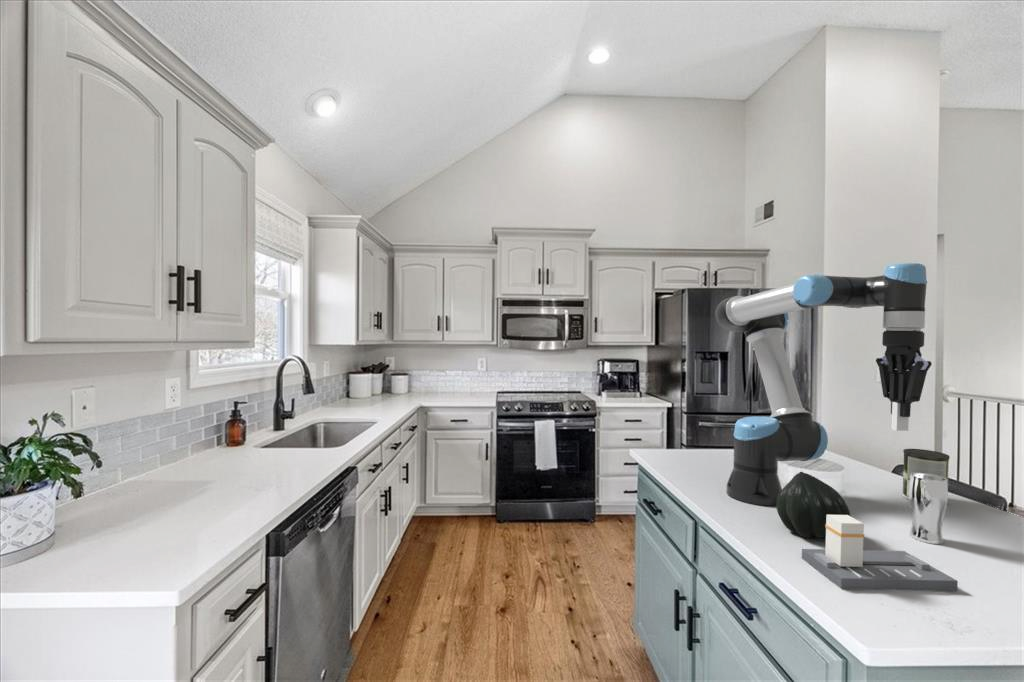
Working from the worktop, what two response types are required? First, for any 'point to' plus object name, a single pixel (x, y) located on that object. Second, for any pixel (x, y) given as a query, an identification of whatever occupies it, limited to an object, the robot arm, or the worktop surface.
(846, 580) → the panel
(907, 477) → the coffee can
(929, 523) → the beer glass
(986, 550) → the worktop surface
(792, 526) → the squash
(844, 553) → the fader knob
